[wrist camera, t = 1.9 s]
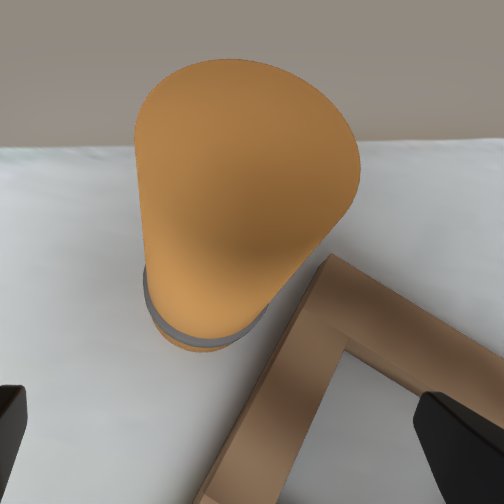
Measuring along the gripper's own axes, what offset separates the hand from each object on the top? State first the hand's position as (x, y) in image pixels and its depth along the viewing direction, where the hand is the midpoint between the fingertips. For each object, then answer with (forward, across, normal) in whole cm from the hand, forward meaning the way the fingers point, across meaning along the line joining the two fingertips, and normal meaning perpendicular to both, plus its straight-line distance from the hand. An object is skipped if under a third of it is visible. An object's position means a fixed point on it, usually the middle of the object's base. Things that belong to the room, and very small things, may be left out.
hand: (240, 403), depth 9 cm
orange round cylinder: (+13, 0, +5) cm, 14 cm away
